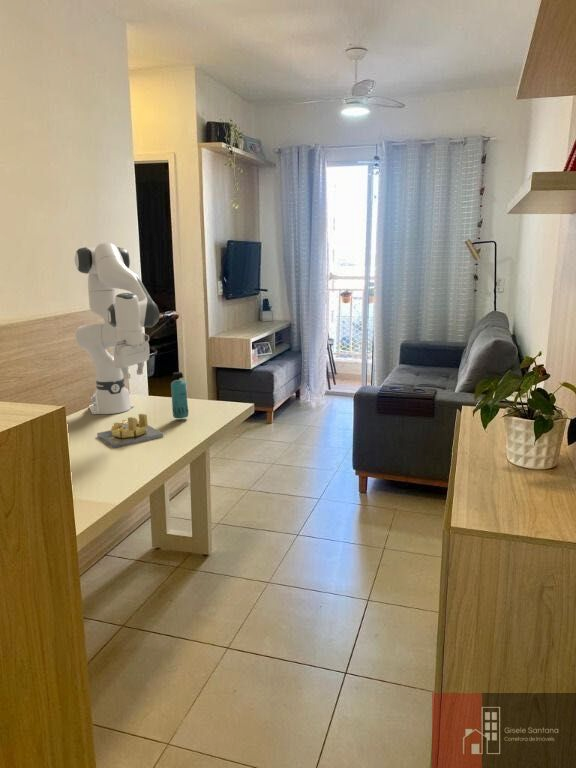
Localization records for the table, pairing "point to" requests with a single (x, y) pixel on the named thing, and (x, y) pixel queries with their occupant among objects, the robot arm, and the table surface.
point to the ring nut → (130, 427)
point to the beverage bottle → (179, 396)
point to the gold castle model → (120, 442)
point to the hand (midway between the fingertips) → (133, 376)
